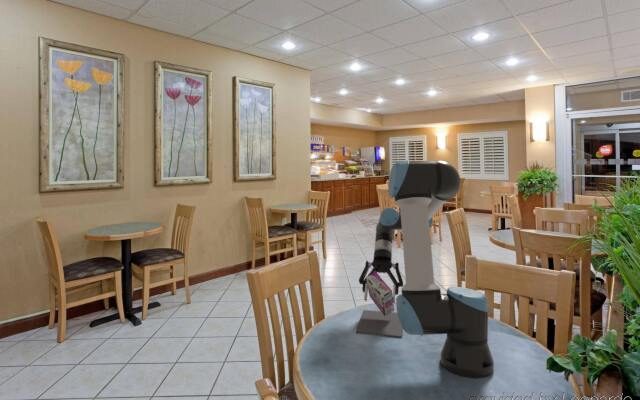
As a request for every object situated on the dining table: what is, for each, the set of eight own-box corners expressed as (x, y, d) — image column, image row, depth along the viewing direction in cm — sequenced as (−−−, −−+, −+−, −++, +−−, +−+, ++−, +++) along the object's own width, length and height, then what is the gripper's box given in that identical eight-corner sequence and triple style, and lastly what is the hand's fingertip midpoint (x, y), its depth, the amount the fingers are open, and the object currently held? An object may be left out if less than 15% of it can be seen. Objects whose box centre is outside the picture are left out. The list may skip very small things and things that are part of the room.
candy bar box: (394, 310, 147) (393, 291, 135) (384, 316, 146) (382, 298, 134) (378, 289, 154) (375, 270, 142) (368, 296, 153) (364, 276, 141)
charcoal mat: (404, 314, 151) (404, 313, 151) (402, 337, 130) (402, 336, 130) (363, 311, 156) (363, 310, 156) (355, 333, 135) (355, 331, 135)
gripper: (410, 258, 155) (409, 307, 141) (357, 256, 161) (351, 302, 147) (410, 248, 150) (409, 298, 136) (355, 246, 156) (349, 294, 142)
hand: (379, 300), depth 141 cm, fingers closed on candy bar box, 10 cm apart
